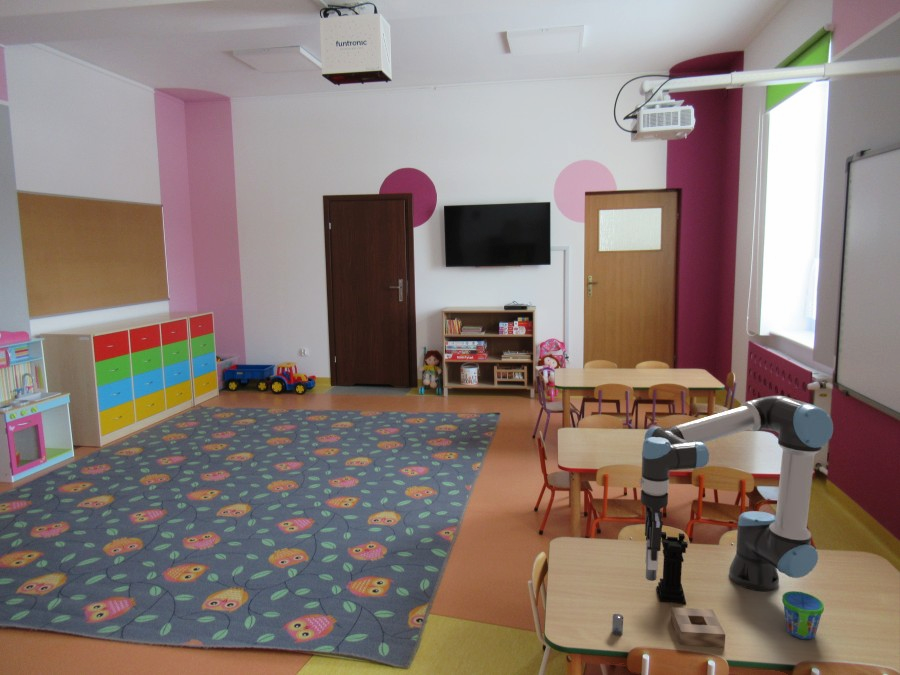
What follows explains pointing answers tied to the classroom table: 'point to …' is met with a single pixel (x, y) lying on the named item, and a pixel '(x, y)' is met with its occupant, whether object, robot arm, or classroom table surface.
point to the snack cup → (802, 614)
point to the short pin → (617, 624)
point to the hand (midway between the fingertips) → (651, 565)
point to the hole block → (697, 627)
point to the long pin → (649, 573)
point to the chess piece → (672, 570)
